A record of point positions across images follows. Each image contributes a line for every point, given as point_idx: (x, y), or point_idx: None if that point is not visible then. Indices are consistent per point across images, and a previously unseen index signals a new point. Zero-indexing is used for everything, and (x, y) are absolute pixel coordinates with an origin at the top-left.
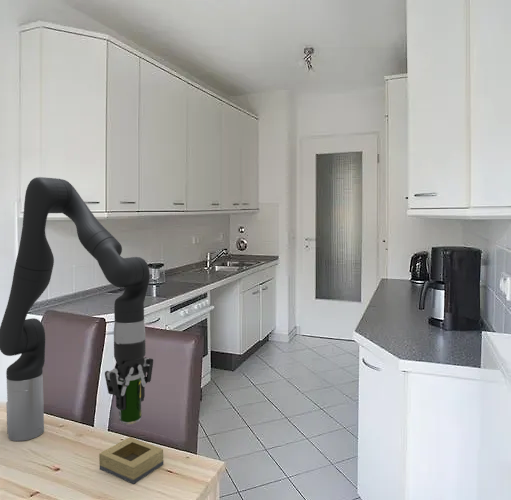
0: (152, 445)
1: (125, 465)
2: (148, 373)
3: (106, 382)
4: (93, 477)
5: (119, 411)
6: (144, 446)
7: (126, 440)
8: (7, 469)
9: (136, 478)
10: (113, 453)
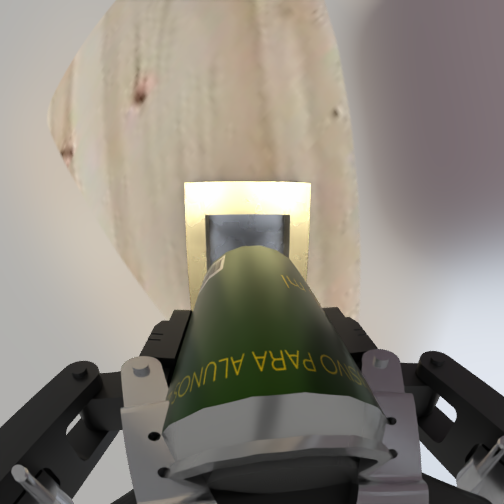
0: (305, 281)
1: (190, 292)
2: (429, 450)
3: (11, 418)
4: (161, 201)
5: (199, 291)
6: None
7: (287, 190)
8: (96, 30)
9: None
10: (213, 213)
